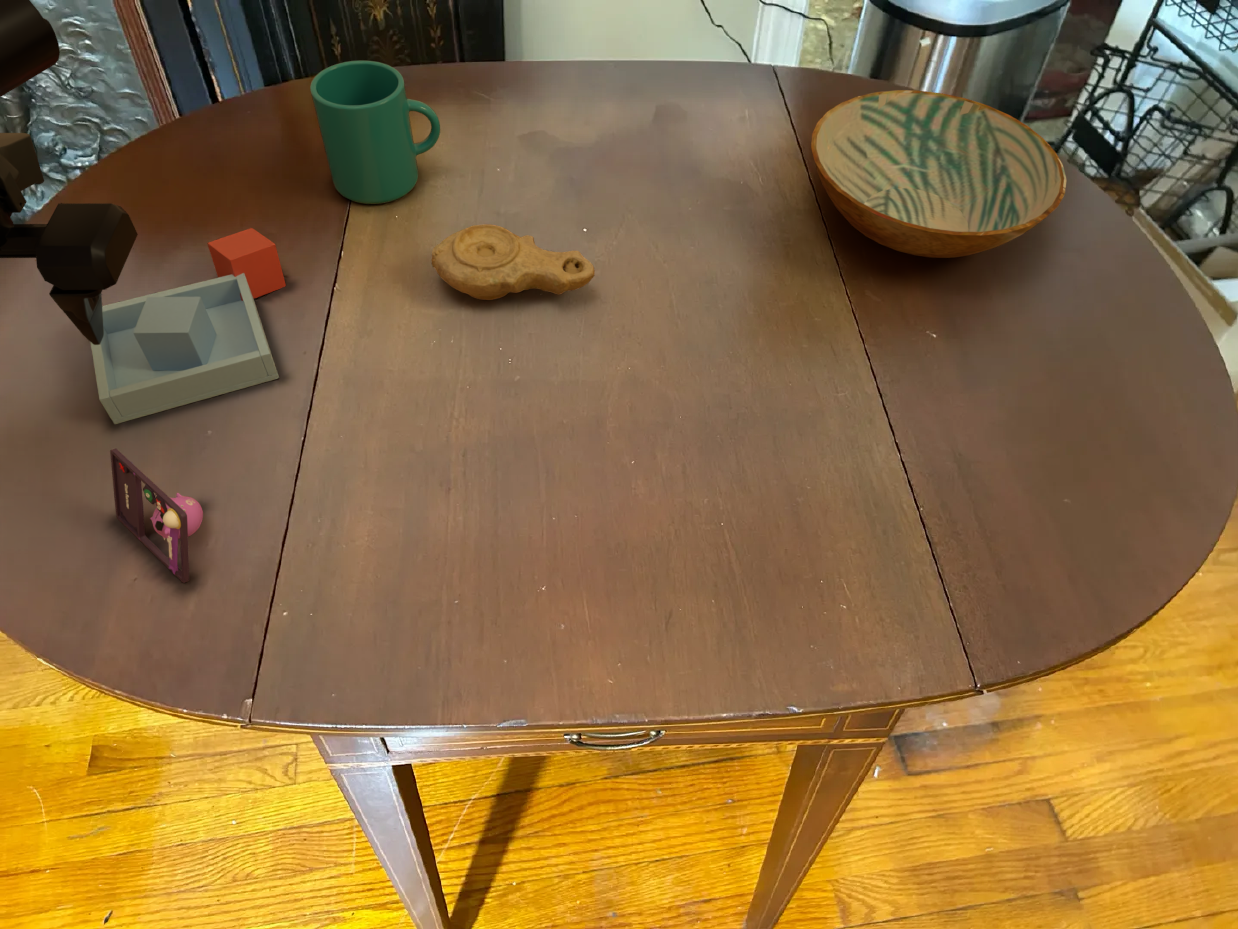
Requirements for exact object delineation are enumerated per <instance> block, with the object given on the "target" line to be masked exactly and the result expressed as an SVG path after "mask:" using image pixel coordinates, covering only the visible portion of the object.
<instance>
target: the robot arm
mask: <svg viewBox="0 0 1238 929" xmlns="http://www.w3.org/2000/svg"><path fill="white" fill-rule="evenodd" d="M60 54H61V51H60V44H59V41H58V37H57V33H56V32H55V30H54V28H53V26H52V23H51V22H50V21H49V20H48V19H46V18H45V17H43V15H42V14H41V12H40V11H39V9H38V8H37V7H36V6H35V5H34V3H33V2H32V1H31V0H0V98H2V97H3V96H5V95H7V94H8V93H10V92H11V91H13V90H16V88H18V87H20V86H21V85H23V84H24V83H26V82H28V81H30V80H31V79H33V78H35V77H36V76H38V75H40V74H42V73H43V72H45V71H46V70H48V69H49V68H51V67H53V66H55V65H56V64H57V63H58V62H59V60H60ZM38 159H39V158H38V155H37V153H36V149H35V146H34V143H33V140H32V136H31V134H29V133H28V132H27V133H26V132H0V259H35V261H36V262H35V263H36V269H37V270H38V273H39V274H40V275H41V277H42V279H43V280H44V281H45V282H46V283H49V284H51V285H52V287H51V289H50V291H49V296H50V298H51V300H53V302H55V304H56V305H57V306H58V307H59V309H61V311H62V312H63V313H64V314H65V316H66V317H67V318H68V319H69V320H70V321H71V322H72V324H73V325H74V326H75V327H76V329H77V330H78V331H79V332H80V333H81V335H82V336H83V337H84V338H86V340H88V342H89V343H90V342H91V343H92V344H94V345H100V343H101V341H102V339H103V336H104V330H103V313H102V306H103V297H102V295H103V294H102V293H103V291H105V290H107V289H109V288H111V287H113V286H115V285H117V283H118V281H119V278H120V276H121V273H122V272H123V269H124V267H125V265H126V262H127V260H128V258H129V256H130V253H131V251H132V249H133V246H134V244H135V242H136V239H137V238H138V235H139V234H138V232H137V230H136V228H135V225H134V223H133V221H132V219H131V216H130V215H129V213H128V212H127V211H126V210H125V209H124V208H123V207H122V206H121V205H117V204H115V203H113V202H111V203H109V202H108V203H107V202H106V203H105V202H103V203H100V202H99V203H97V202H96V203H94V202H93V203H91V202H90V203H89V202H85V203H84V202H83V203H82V202H81V203H80V202H79V203H77V202H76V203H74V202H73V203H71V202H70V203H65V202H64V203H59V202H58V203H57V205H56V207H55V209H54V211H53V213H52V214H51V216H50V218H49V220H48V222H47V223H14V221H13V220H12V218H11V216H12V215H13V214H20V213H21V212H22V211H23V209H24V207H25V206H26V204H27V199H26V198H25V196H24V194H23V192H22V191H24V190H26V189H28V188H30V187H31V186H34V185H42V184H43V183H44V182H45V178H44V174H43V172H42V169H41V166H40V163H39V160H38ZM91 343H90V344H91Z"/></svg>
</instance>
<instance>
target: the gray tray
mask: <svg viewBox="0 0 1238 929" xmlns="http://www.w3.org/2000/svg"><path fill="white" fill-rule="evenodd" d="M240 293H241V295H242V298H243V301H241V297H240ZM147 297H201V299H202V301H203V304H204V306H205V308H206V311H207V313H208V315H209V318H210V320H211V323H212V325H213V327H214V330H215V332H216V338H215V341H214V344H213V347H212V350H211V353H210V357H209V360H208V363H207V364H206V365H202V366H198V367H195V368H191V369H187V370H161V371H153V370H152V368H151V366H150V364H149V363H148V361H147V359H146V357H145V355H144V353H143V351H142V349H141V347H140V345H139V343H138V342H137V340H136V338H135V336H134V334H133V332H134V329H135V327H136V324H137V322H138V319H139V317H140V314H141V312H142V309H143V307H144V304H145V302H146V299H147ZM102 313H103V330H104V336H103V339H102V341H101V343H100V345H94V344H92V343H91V342H90V341H89V343H90V350H91V356H92V362H93V369H94V374H95V381H96V387H97V394H98V399H99V400H98V401H99V402H100V403H101V405H102V407H103V408H104V410H105V411H106V413H107V415H108V417H109V418H110V419H111V422H112V423H113V425H118V424H121V423H124V422H128V421H133V420H136V419H138V418H139V419H140V418H143V417H146V416H150V415H153V414H158V413H160V412H164V411H167V410H171V409H174V408H179V407H182V406H187V405H189V404H193V403H197V402H200V401H203V400H207V399H211V398H214V397H218V396H221V395H225V394H228V393H232V392H235V391H239V390H242V389H245V388H251V387H254V386H256V385H257V386H258V385H260V384H263V383H268V382H271V381H274V380H277V379H278V380H279V379H280V376H279V373H278V370H277V366H276V364H275V361H274V358H273V355H272V351H271V348H270V345H269V342H268V339H267V336H266V333H265V330H264V326H263V324H262V320H261V317H260V314H259V311H258V308H257V305H256V301H255V298H254V299H253V296H252V293H251V290H250V288H249V285H248V282H247V279H246V277H245V274H244V273H242V274H240V275H238V276H236V277H234V276H233V275H232V274H231V275H227V276H223V277H219V278H218V277H215V278H212V279H207V280H203V281H199V282H195V283H191V284H187V285H182V286H179V287H174V288H170V289H166V290H162V291H158V292H153V293H150V294H146V295H141V296H138V297H134V298H129V299H126V300H121V301H118V302H112V303H109V304H105V305H102Z"/></svg>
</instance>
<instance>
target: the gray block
mask: <svg viewBox="0 0 1238 929" xmlns="http://www.w3.org/2000/svg"><path fill="white" fill-rule="evenodd" d="M133 334H134V336H135V338H136V340H137V342H138V343H139V345H140V347H141V349H142V351H143V353H144V355H145V357H146V359H147V361H148V363H149V364H150V366H151V368H152V370H153V371H161V370H187V369H191V368H195V367H198V366H202V365H206V364H207V363H208V360H209V357H210V353H211V350H212V347H213V344H214V341H215V338H216V332H215V330H214V327H213V325H212V323H211V320H210V318H209V315H208V313H207V311H206V308H205V306H204V304H203V301H202V299H201V297H147V299H146V302H145V304H144V307H143V309H142V312H141V314H140V317H139V319H138V322H137V324H136V327H135V329H134V332H133Z"/></svg>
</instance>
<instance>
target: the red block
mask: <svg viewBox="0 0 1238 929" xmlns="http://www.w3.org/2000/svg"><path fill="white" fill-rule="evenodd" d="M207 247H208V250H209V254H210V257H211V260H212V263H213V266H214V270H215V273H216V276H217V278H219V277H223V276H227V275H231V274H232V275H233V276H234V277H236V276H238V275H240V274H242V273H244V274H245V277H246V279H247V282H248V285H249V288H250V290H251V293H252V296H253V299H254V300H255V299H257V298H259V297H262V296H264V295H268V294H270V293H272V292H273V293H274V292H275V291H278V290H280V289H282V288H285V287H286V286H287V284H286V281H285V277H284V273H283V270H282V265H281V262H280V257H279V254H278V248H277V245H276V243H275V242H273V241H272V240H270V239H269V238H267V237H266V236H264V235H263V234H261V233H260V232H258V231H257V230H256V229H254V228H253V227H249V228H247V229H244V230H241V231H238V232H236V233H232V234H229V235H226V236H223V237H220V238H217V239H215V240H212V241H209V242H207ZM240 297H241V301H243V298H242V295H241V293H240Z"/></svg>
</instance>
